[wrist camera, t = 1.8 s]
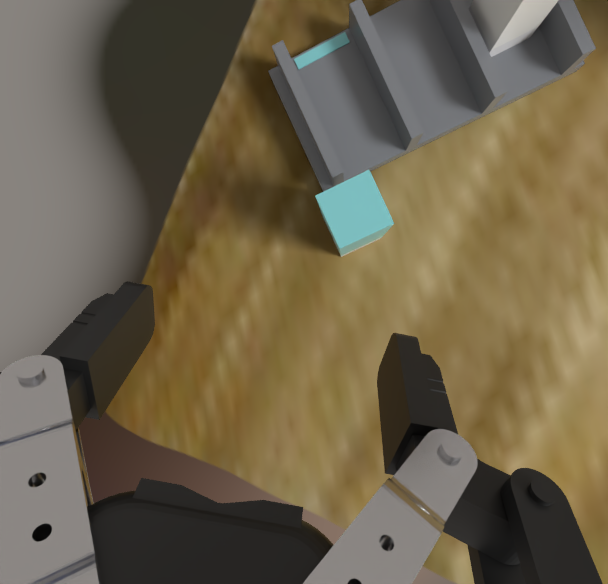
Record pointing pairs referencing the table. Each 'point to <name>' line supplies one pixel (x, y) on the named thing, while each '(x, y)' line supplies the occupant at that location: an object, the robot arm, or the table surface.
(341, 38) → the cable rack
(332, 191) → the teal plug
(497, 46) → the white rectangular block
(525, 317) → the table surface
